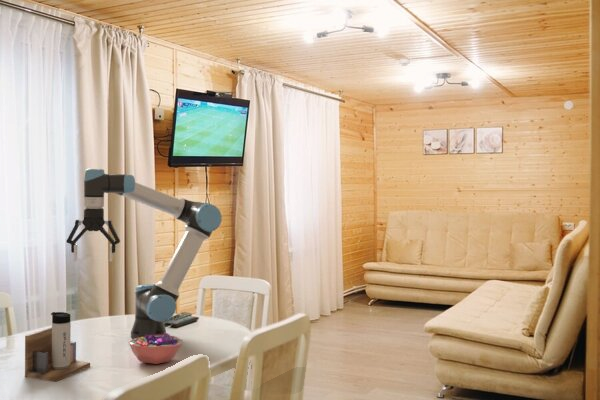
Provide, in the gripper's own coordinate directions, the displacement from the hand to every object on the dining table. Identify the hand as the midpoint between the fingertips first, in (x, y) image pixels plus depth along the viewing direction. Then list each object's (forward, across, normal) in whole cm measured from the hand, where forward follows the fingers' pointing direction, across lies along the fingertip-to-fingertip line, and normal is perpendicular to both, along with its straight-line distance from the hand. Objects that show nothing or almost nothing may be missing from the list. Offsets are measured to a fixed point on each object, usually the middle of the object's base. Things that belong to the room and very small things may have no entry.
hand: (93, 261), depth 245 cm
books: (+35, -7, -16) cm, 39 cm away
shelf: (+37, -7, -24) cm, 44 cm away
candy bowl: (+37, +26, -15) cm, 48 cm away
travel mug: (+35, -7, -24) cm, 43 cm away
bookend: (+35, -13, -29) cm, 47 cm away
